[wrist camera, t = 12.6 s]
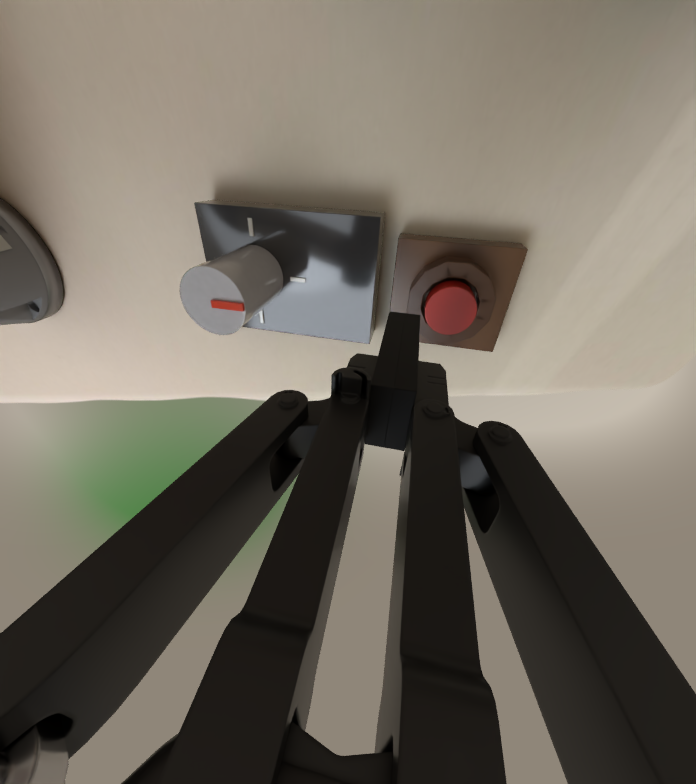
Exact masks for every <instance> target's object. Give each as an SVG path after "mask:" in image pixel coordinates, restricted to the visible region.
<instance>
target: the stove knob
mask: <svg viewBox="0 0 696 784" xmlns="http://www.w3.org/2000/svg"><path fill="white" fill-rule="evenodd" d="M282 287H283V274H282V270H281V267H280V265H279V263H278V261H277V260H276V259H275V257H274V256H273V255H272V254H271V253H270V252H269V251H267V250H266V249H264V248H262V247H260V246H257V245H245V246H242V247H240V248H237V249H235V250H233V251H230V252H228V253H226V254H223V255H221V256H219V257H216V258H214V259H212V260H209V261H207V262H205V263H202V264H200V265H198V266H195V267H193V268H191V269H189V270H188V271H187V272H186V273H185V274H184V276H183V277H182V280H181V283H180V296H181V300H182V303H183V305H184V308H185V309H186V311H187V313H188V314H189V316H190V317H191V318H192V319H193V320H194V321H195V322H196V323H197V324H198V325H199V326H200V327H202V328H203V329H205V330H207V331H209V332H211V333H214V334H218V335H229V334H232V333H235V332H236V331H238V330H239V329H240V328H241V327H242V326H244V325H245V324H246V323H247V322H248V321H249V320H251V319H252V318H253V317H254V316H255V315H257V314H258V313H259V312H260V311H261V310H262V309H264V308H265V307H266V306H267V305H268V304H269V303H271V302H272V301H273V300H274V299H275V298H277V297H278V295H279V294H280V292H281V290H282Z"/></svg>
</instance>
